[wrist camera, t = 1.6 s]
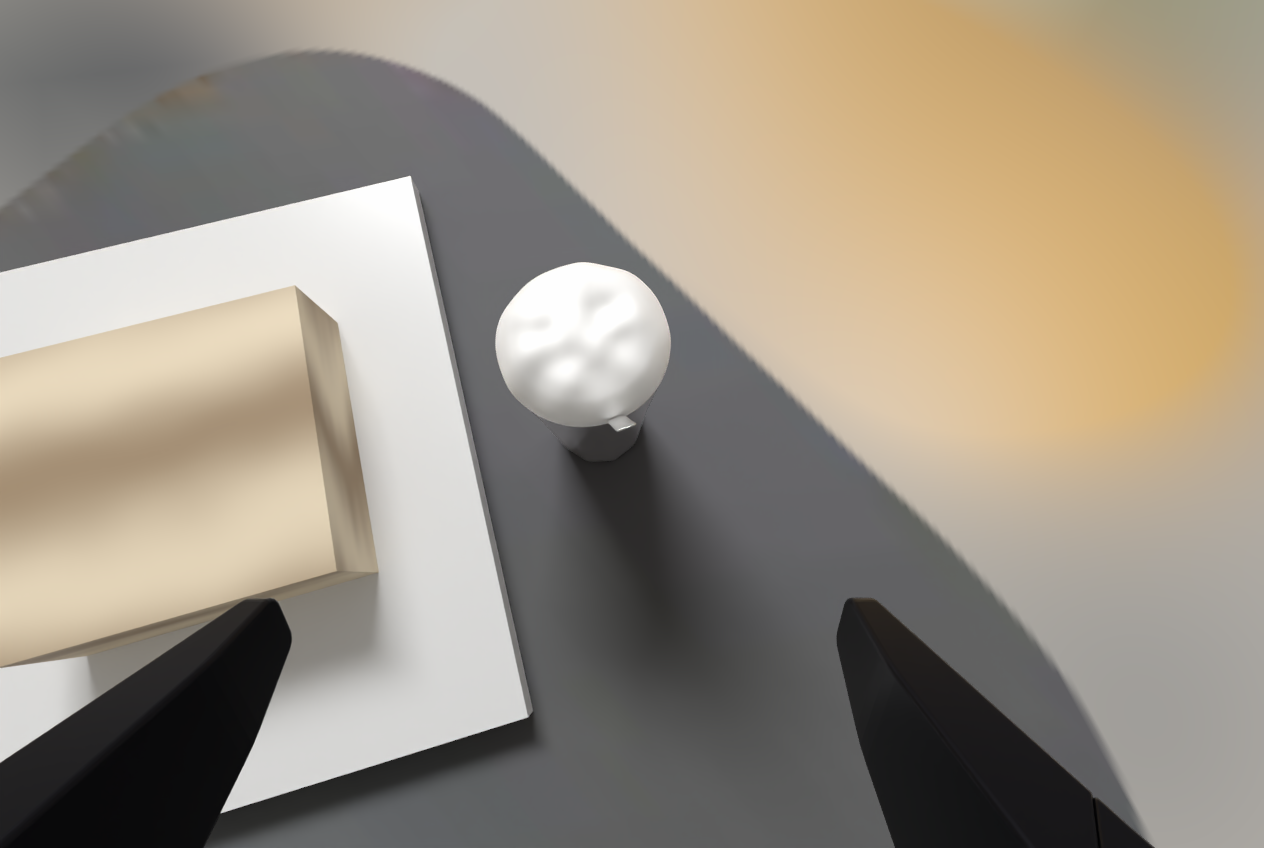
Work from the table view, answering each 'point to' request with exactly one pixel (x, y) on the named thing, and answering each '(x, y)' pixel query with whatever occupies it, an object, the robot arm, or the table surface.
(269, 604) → the robot arm
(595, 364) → the milkshake
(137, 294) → the baseplate
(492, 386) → the table surface
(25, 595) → the plinth
